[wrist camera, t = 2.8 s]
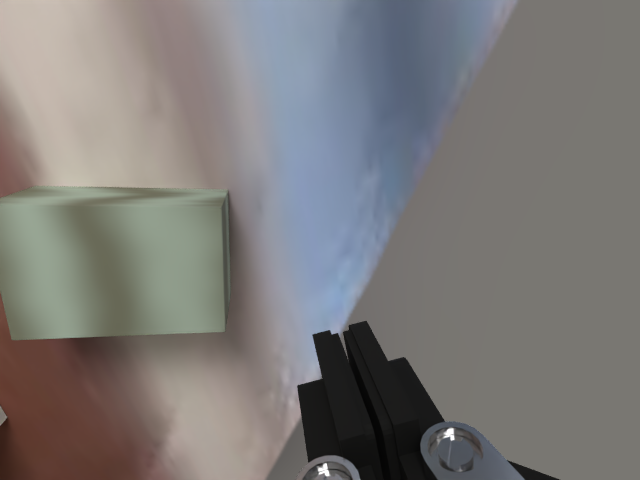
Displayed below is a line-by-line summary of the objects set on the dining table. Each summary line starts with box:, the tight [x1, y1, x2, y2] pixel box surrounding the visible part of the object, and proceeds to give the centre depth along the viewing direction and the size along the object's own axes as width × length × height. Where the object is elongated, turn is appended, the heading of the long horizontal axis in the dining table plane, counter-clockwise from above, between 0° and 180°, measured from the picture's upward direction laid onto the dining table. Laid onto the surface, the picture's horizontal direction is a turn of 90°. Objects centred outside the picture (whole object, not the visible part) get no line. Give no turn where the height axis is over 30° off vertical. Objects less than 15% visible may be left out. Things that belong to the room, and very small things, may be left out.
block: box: [0, 186, 231, 340], centre depth 24 cm, size 12×8×6 cm, turn 87°
